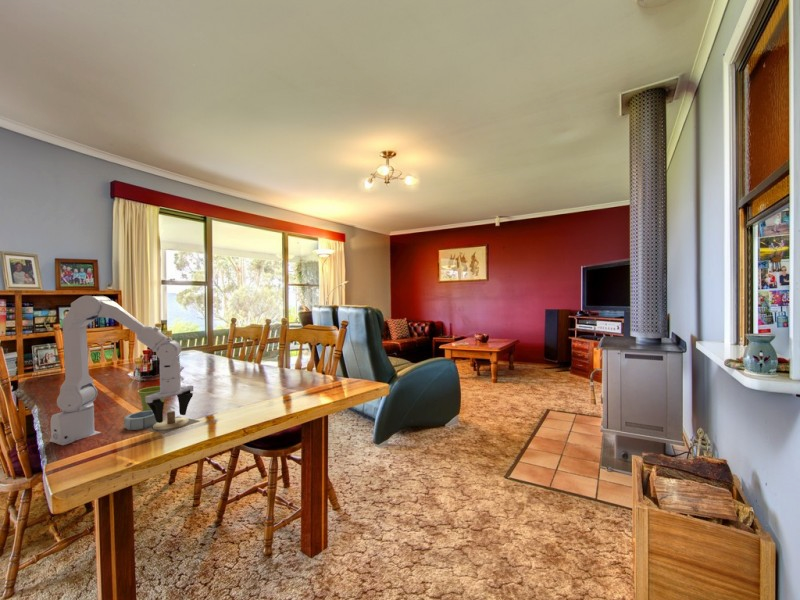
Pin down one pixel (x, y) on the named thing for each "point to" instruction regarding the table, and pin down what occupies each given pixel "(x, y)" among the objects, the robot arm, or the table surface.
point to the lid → (170, 422)
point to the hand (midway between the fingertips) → (171, 418)
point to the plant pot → (148, 392)
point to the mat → (171, 429)
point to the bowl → (139, 420)
